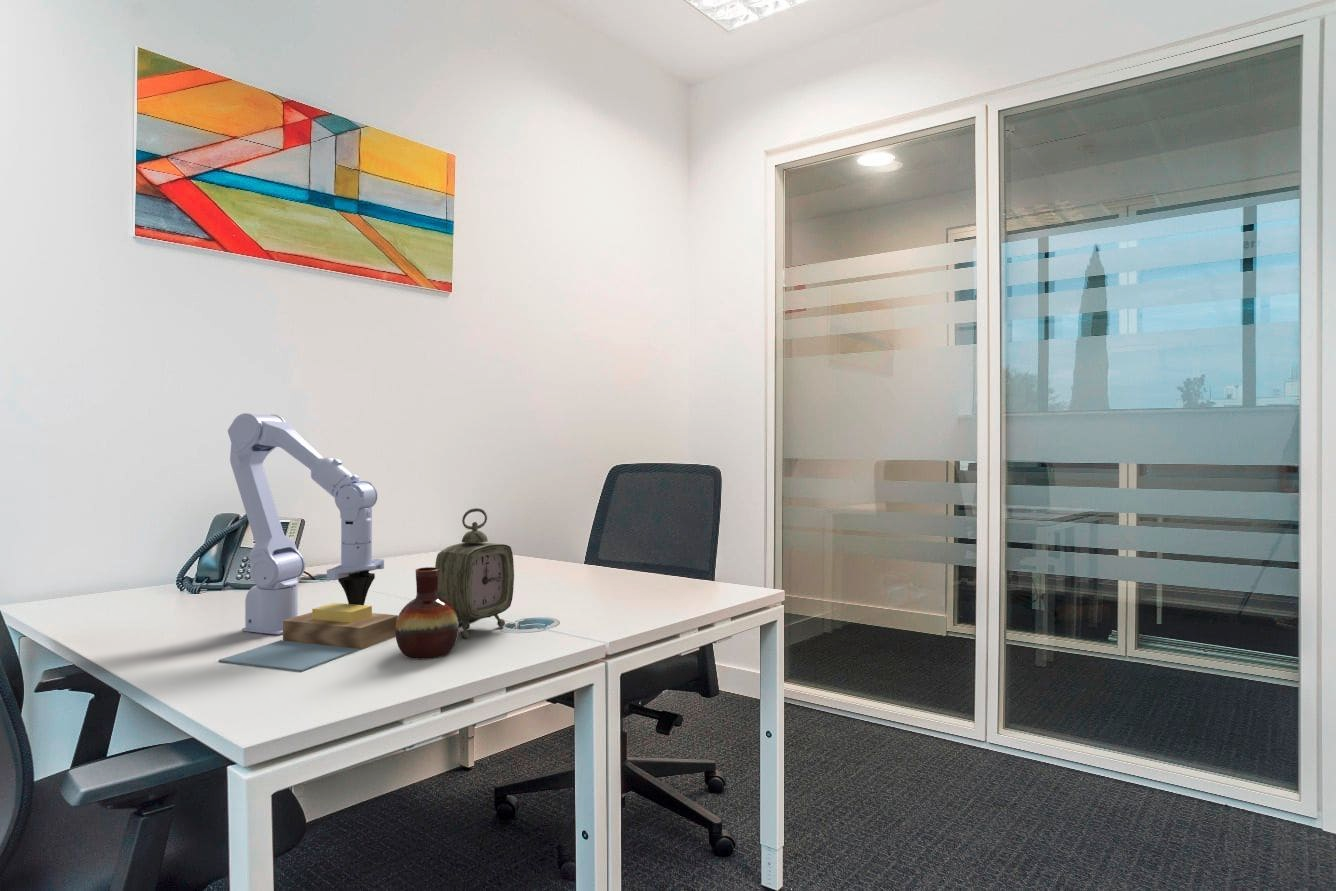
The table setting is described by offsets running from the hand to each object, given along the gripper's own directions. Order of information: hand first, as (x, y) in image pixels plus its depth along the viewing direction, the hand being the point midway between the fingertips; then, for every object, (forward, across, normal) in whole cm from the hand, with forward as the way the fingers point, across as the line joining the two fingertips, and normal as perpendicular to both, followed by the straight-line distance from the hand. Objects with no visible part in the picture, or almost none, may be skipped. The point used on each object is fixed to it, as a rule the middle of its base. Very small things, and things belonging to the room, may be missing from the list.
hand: (356, 610), depth 158 cm
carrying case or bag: (+5, +13, -12) cm, 18 cm away
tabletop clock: (+5, +9, -21) cm, 23 cm away
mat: (+5, -17, 0) cm, 18 cm away
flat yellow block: (+1, -4, 0) cm, 4 cm away
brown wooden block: (+5, -4, 0) cm, 6 cm away
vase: (+5, -8, -22) cm, 24 cm away
